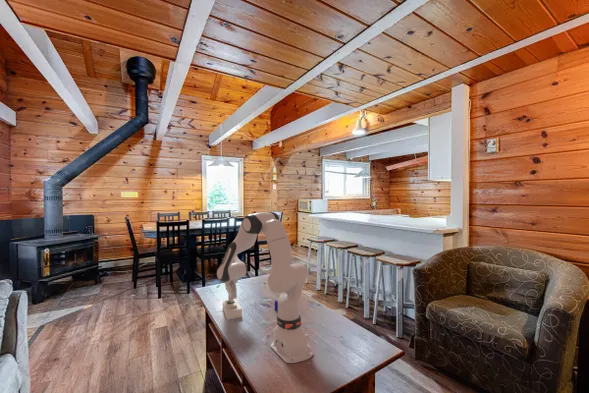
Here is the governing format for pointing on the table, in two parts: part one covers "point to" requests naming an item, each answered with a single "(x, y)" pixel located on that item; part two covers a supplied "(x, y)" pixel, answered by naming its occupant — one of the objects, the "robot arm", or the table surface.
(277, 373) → the table surface
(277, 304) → the cable clip
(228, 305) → the hole block
